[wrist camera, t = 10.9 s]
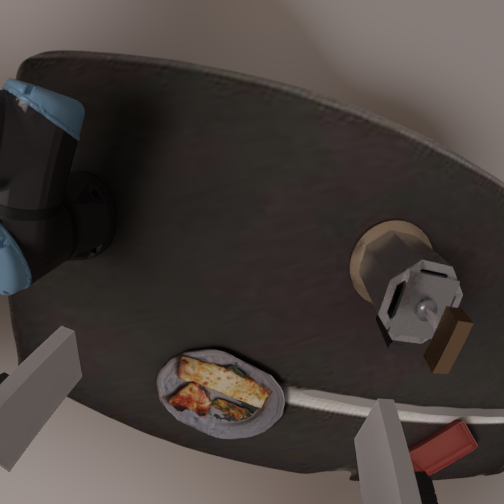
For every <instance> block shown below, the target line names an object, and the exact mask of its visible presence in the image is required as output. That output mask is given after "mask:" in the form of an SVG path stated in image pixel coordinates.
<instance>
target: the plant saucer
mask: <svg viewBox="0 0 504 504" xmlns="http://www.w3.org/2000/svg"><path fill="white" fill-rule="evenodd" d="M477 446H478V445H477V443H476V441H475V439H474V437H473V436H472V434H471V432H470V430H469V429H468V427H467V425H466V423H465V421H462V420H454V421H452V422H451V423H449V424H448V425H446V426H445V427H443V428H441V429H440V430H438V431H436V432H435V433H433V434H431V435H430V436H428V437H426V438H425V439H423V440H421V441H419V442H418V443H416V444H414V445H412V446H410V447H408V450H409V454H410V458H411V462H412V465H413V469H414V472H416V471H425V472H426V473H427V474H428V476H429V475H431V474H433V473H435V472H437V471H439V470H441V469H442V468H444V467H446V466H448V465H449V464H451V463H453V462H455V461H456V460H458V459H460V458H461V457H463V456H464V455H466V454H468V453H469V452H471V451H472V450H474V449H475V448H477Z"/></svg>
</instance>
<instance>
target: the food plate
mask: <svg viewBox="0 0 504 504" xmlns="http://www.w3.org/2000/svg"><path fill="white" fill-rule="evenodd" d="M202 386H204V387H205V389H204V388H203V387H202ZM156 388H157V392H158V397H159V400H160V401H161V403H162V404H163V405H164V406H165V407H166V408H167V410H168V411H169V412H170V413H171V414H172V415H173V416H174V417H175V418H176V419H177V420H179V421H181V422H182V423H185V424H186V425H189V426H191V427H193V428H195V429H197V430H200V431H201V432H204V433H206V434H208V435H209V434H210V435H211V436H213V437H217V438H222V439H236V438H246V437H251V436H255V435H258V434H260V433H262V432H266V430H267V429H269V428H270V427H271V426H272V425H273V424H274V423H275V422H276V421H277V420H278V419H279V418H280V417H281V416H282V415H283V411H284V406H285V401H284V400H285V398H284V393H283V391H282V389H281V387H280V385H279V384H278V383H277V381H276V380H275V379H274V378H273V376H271V375H270V374H267V373H265V372H264V371H262V370H260V369H258V368H256V367H255V366H252V365H250V364H248V363H246V362H244V361H242V360H240V359H238V358H237V357H234V356H233V355H230V354H229V353H228V354H227V352H224V351H220V350H218V349H201V350H200V349H199V350H192V351H191V350H190V351H184V352H182V353H180V354H179V355H175V356H173V357H172V358H170V359H169V360H168V361H167V362H166V363H165V364H164V366H163V367H162V368H161V369H160V371H159V372H158V374H157V377H156ZM237 400H240V401H243V402H246V403H248V404H251V405H253V406H255V407H259V409H258V410H256V412H255V413H254V414H252V413H251V410H249V409H247V408H246V407H244V406H242V405H241V404H240V403H242V402H238V401H237ZM212 412H213V413H212ZM207 413H208V414H207ZM210 413H212V414H213V415H214V414H215V413H216V414H218V415H219V416H220V417H222V418H224V417H223V415H221V414H227V415H230V416H232V417H233V418H234V419H236V420H239V421H237V422H234V421H232V420H231V419H230V420H231V422H228V421H227V420H222V419H221V421H220V419H219V420H217V419H216V417H213V415H212V417H213V419H211V418H212V417H211V416H210ZM249 415H252V416H251V417H249V418H247V419H243V420H240V419H241V418H242V417H244V418H246V417H247V416H249ZM201 417H202V418H201ZM207 417H211V418H207Z"/></svg>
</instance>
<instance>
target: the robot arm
mask: <svg viewBox="0 0 504 504" xmlns="http://www.w3.org/2000/svg"><path fill="white" fill-rule="evenodd" d="M84 117H85V110H84V107H83V105H82V104H81V103H80V102H79V101H77V100H75V99H72V98H70V97H67V96H64V95H62V94H59V93H56V92H53V91H50V90H47V89H44V88H42V87H39V86H36V85H32V84H29V83H26V82H23V81H19V80H15V79H11V78H10V79H8V80H7V81H6V83H5V84H4V85H3V90H0V294H2V295H12V294H14V293H16V292H18V291H19V290H21V289H24V288H27V287H29V286H30V285H31V284H32V283H34V282H35V281H37V280H38V279H40V278H41V277H43V276H44V275H46V274H47V273H49V272H50V271H52V270H53V269H55V268H56V267H58V266H59V265H61V264H62V263H64V262H65V261H72V260H85V259H89V258H92V257H94V256H95V255H97V254H99V253H100V252H102V251H103V250H104V249H105V248H106V247H107V246H108V245H109V243H110V242H111V240H112V237H113V235H114V231H115V226H116V212H115V207H114V203H113V200H112V197H111V195H110V193H109V191H108V189H107V188H106V187H105V185H104V184H103V183H102V182H101V181H100V180H99V179H98V178H97V177H95V176H94V175H92V174H90V173H87V172H81V171H77V172H71V173H70V169H71V165H72V162H73V158H74V154H75V150H76V147H77V143H78V141H80V132H81V128H82V124H83V121H84ZM81 377H82V373H81V368H80V362H79V356H78V350H77V344H76V337H75V331H73V330H71V329H68V328H65V327H63V326H61V327H60V328H59V329H58V330H56V331H55V332H54V333H53V334H52V335H51V336H50V337H49V338H48V339H47V340H46V341H45V342H43V343H42V344H41V345H40V346H39V347H38V348H37V349H36V350H35V351H34V352H33V353H32V354H31V355H30V356H29V357H28V358H27V359H26V360H24V361H23V362H22V363H21V364H20V365H19V366H18V367H17V368H16V369H15V370H14V371H13V372H12V373H11V374H10V375H8V374H6V373H2V374H0V466H2V467H3V468H4V469H6V470H7V471H8V472H10V471H11V469H12V468H13V466H14V465H15V463H16V462H17V461H18V459H19V458H20V457H21V455H22V454H23V452H24V451H25V450H26V448H27V447H28V446H29V444H30V443H31V442H32V440H33V439H34V438H35V436H36V435H37V434H38V432H39V431H40V430H41V428H42V427H43V426H44V424H45V423H46V422H47V421H48V419H49V418H50V417H51V415H52V414H53V413H54V411H55V410H56V409H57V408H58V406H59V405H60V404H61V402H62V401H63V400H64V399H65V397H66V396H67V395H68V394H69V392H70V391H71V390H72V389H73V387H74V386H75V385H76V384H77V382H78V381H79V380H80V379H81ZM354 441H355V448H356V456H357V463H358V471H359V479H360V487H361V497H362V504H438V502H437V497H436V494H435V490H434V486H433V482H432V480H431V478H430V477H429V476H428V474H427V473H426V472H425V471H416V472H414V469H413V465H412V462H411V458H410V454H409V450H408V447H407V443H406V440H405V436H404V433H403V429H402V426H401V422H400V419H399V416H398V413H397V409H396V406H395V403H394V400H390V399H377V401H376V403H375V404H374V406H373V408H372V410H371V411H370V413H369V415H368V417H367V418H366V420H365V422H364V423H363V425H362V427H361V429H360V430H359V432H358V433H357V435H356V437H355V438H354Z"/></svg>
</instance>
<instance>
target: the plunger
mask: <svg viewBox="0 0 504 504" xmlns="http://www.w3.org/2000/svg"><path fill="white" fill-rule="evenodd" d="M420 271H424V270H423V269H421V270H420ZM404 282H405V280H404V281H403V282H401V283H400V284H398V285H397V286H396V289H395V292H394V295H393V297H392V298H397V299H398V298H399V296H400V293H401V290H402V287H403V285H404ZM437 311H438V307H437V305H436V303H435V302H434V301H433V300H432V299H429V298H427V299H421V301H420V302H419V303H418V305H417V307H416V315H417V316H418V318H419V319H420V320H421V321H424V322H427V321H428V322H429V324H430V325H431V327H432V328H433V330H434V331H435V333H434V335H433V337H432V339H431V341H430V344H429V346H428V348H427V350H426V352H425V354H424V358H425V360H426V361H427V363H428V365H429V367H430V369H431V371H432V373H438V374H448V373H449V371H450V369H451V367H452V366H453V364H454V362H455V360H456V358H457V356H458V354H459V352H460V350H461V349H462V347H463V345H464V343H465V341H466V339H467V337H468V334H469V332H470V330H471V328H472V326H473V324H474V323H473V322H472V321H471V319H470V318H469V317H468V316H467V315H466V314H465V312H464V311H463V310H462V309H461V308H455V307H450V306H446V308H445V310H444V312H443V315H442V317H441V319H439V318H438V316H437V315H436V314H437Z"/></svg>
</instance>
